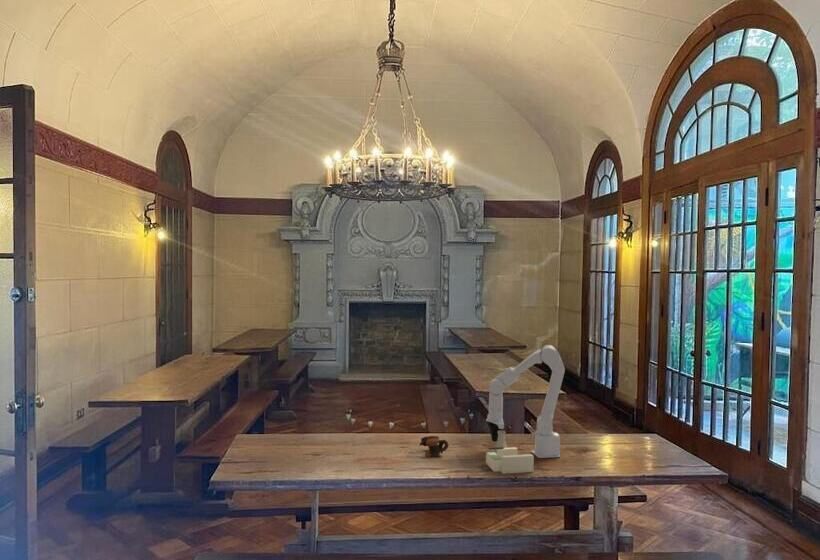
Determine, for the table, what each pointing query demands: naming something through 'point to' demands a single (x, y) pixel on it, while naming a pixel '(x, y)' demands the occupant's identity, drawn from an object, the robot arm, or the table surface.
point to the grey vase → (500, 440)
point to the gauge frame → (510, 462)
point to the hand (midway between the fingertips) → (495, 441)
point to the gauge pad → (505, 451)
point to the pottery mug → (434, 445)
